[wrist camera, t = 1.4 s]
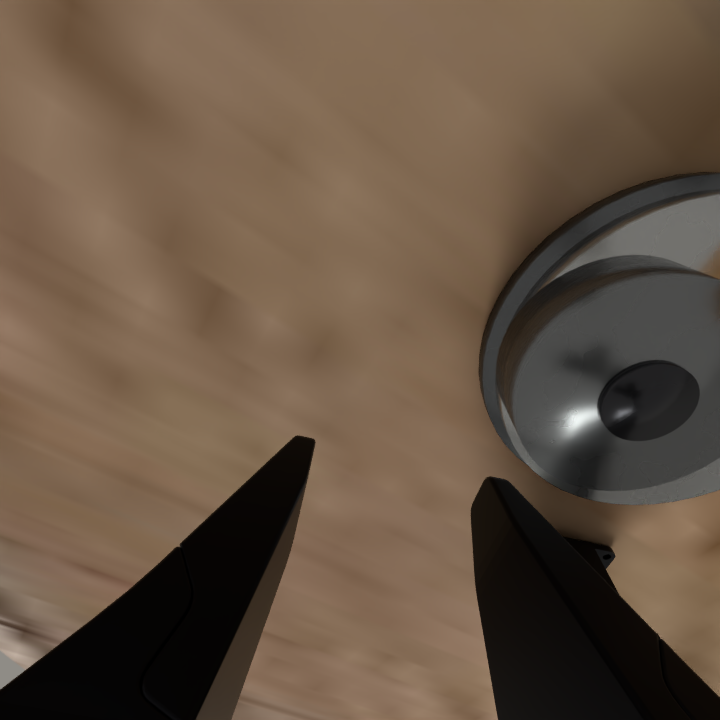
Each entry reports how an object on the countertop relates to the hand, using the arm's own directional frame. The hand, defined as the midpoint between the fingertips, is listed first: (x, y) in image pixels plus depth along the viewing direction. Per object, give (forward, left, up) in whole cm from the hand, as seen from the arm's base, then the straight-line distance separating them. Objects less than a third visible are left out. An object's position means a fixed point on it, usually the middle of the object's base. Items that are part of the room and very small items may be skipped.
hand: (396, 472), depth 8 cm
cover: (0, -9, -10) cm, 13 cm away
